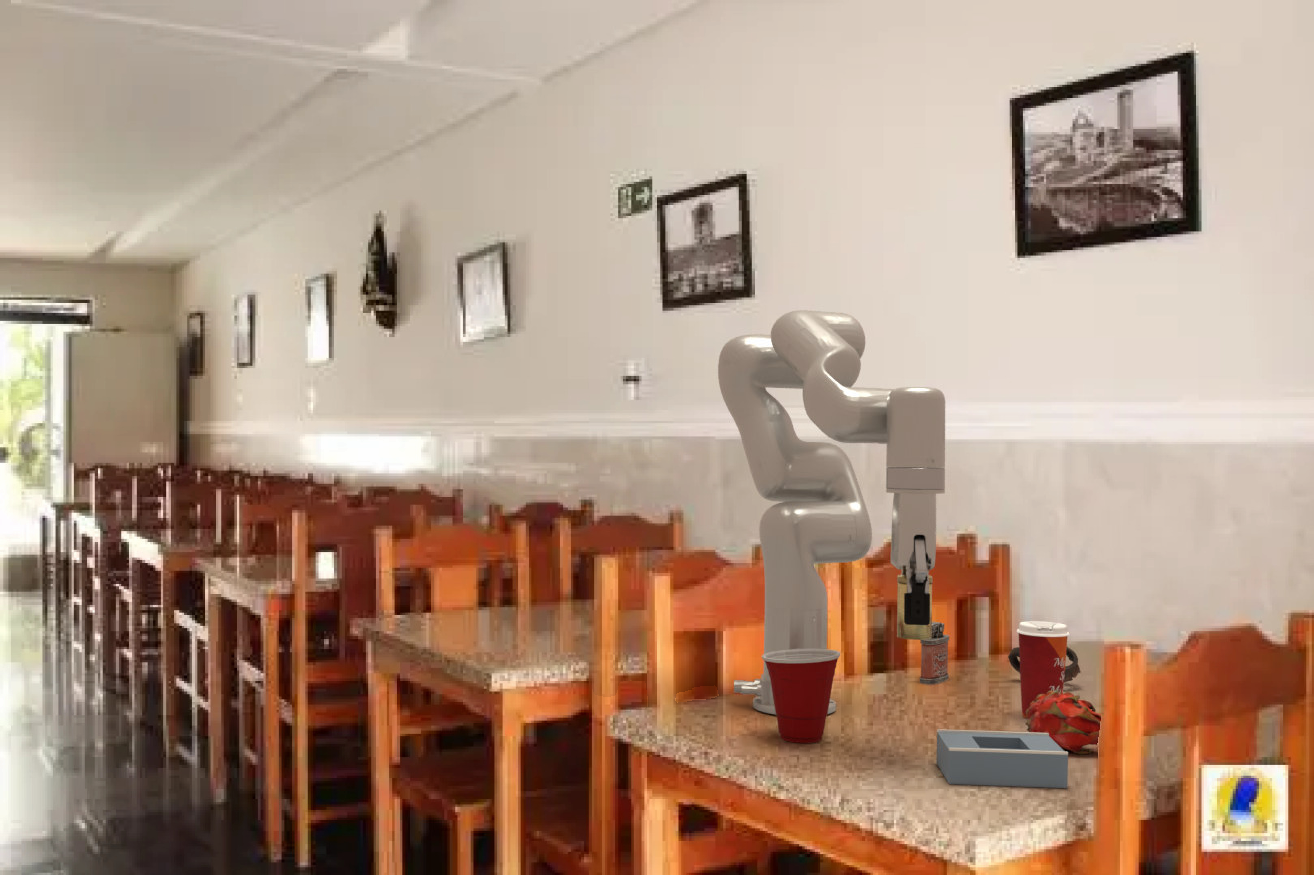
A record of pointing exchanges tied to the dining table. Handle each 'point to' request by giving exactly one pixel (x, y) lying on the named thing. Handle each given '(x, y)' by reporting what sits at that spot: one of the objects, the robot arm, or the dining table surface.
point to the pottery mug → (1069, 670)
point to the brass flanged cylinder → (902, 629)
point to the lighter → (934, 656)
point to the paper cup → (1041, 659)
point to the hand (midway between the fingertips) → (914, 620)
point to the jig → (1001, 758)
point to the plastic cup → (801, 691)
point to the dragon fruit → (1064, 720)
